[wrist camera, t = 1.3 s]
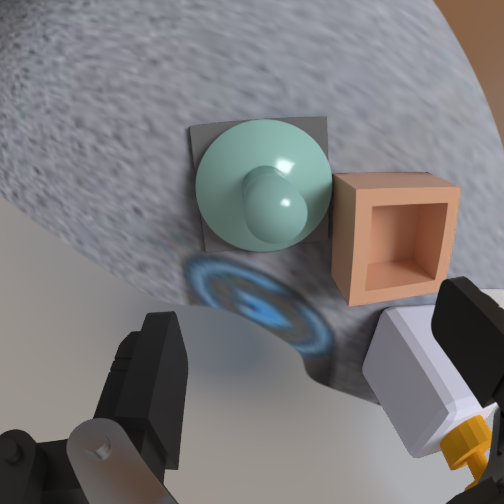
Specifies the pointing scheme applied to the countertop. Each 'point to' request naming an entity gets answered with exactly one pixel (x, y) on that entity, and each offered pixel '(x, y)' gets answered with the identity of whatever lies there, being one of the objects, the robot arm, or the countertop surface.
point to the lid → (263, 185)
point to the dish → (391, 234)
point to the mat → (209, 132)
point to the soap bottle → (426, 391)
